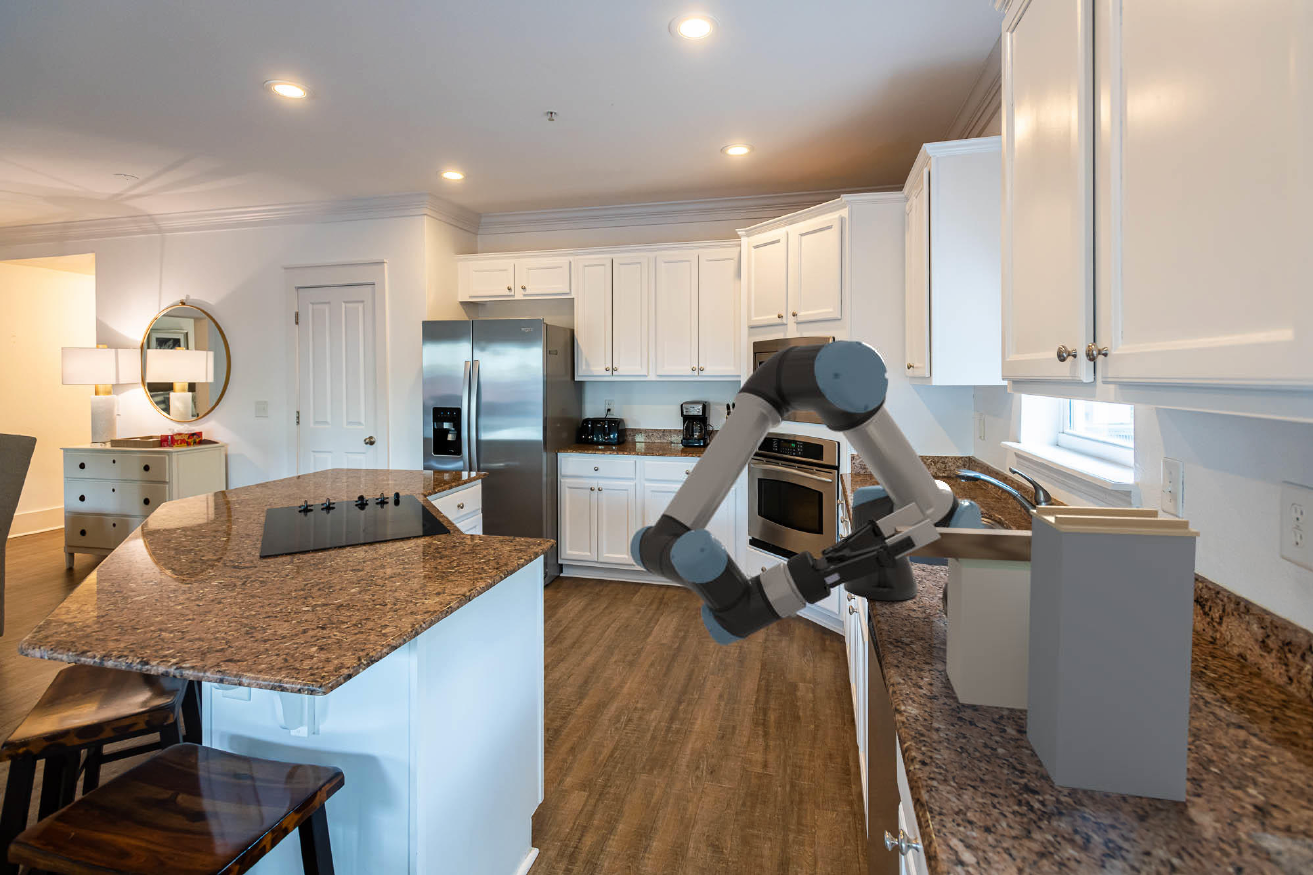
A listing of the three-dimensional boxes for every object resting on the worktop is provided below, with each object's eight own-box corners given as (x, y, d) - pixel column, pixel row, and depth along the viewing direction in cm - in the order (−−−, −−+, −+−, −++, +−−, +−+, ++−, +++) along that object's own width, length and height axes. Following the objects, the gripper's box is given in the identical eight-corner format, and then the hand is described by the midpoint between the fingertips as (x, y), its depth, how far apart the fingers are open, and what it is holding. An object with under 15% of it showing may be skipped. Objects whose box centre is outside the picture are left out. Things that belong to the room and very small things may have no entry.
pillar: (1140, 749, 76) (1148, 506, 74) (1188, 803, 66) (1200, 523, 64) (1024, 736, 79) (1029, 503, 77) (1054, 786, 69) (1061, 519, 67)
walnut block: (1091, 558, 88) (1092, 532, 88) (1102, 564, 85) (1103, 538, 85) (894, 549, 95) (894, 525, 95) (897, 555, 91) (897, 530, 91)
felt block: (960, 702, 87) (962, 564, 86) (946, 672, 97) (948, 547, 96) (1127, 719, 82) (1132, 572, 81) (1095, 685, 92) (1099, 553, 91)
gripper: (810, 581, 109) (926, 523, 103) (808, 634, 84) (959, 563, 79) (788, 543, 109) (901, 484, 104) (779, 585, 85) (927, 511, 80)
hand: (927, 518), depth 92 cm, fingers open, 13 cm apart
